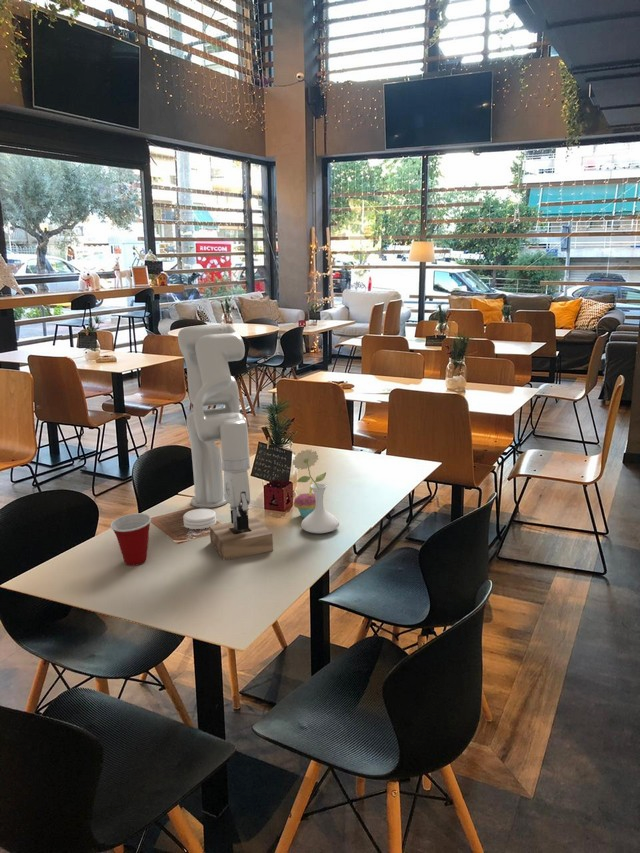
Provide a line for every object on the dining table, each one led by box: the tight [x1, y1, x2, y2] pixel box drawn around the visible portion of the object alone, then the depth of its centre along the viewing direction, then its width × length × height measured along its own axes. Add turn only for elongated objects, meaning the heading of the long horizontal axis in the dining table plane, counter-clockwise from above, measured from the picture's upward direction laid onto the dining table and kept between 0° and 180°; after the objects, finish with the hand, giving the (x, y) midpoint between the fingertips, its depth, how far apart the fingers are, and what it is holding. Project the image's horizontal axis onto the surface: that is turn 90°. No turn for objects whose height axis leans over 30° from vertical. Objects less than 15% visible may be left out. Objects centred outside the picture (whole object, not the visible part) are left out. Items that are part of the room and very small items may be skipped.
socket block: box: [209, 517, 274, 561], centre depth 198 cm, size 14×14×5 cm
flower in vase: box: [292, 448, 340, 534], centre depth 205 cm, size 13×11×25 cm
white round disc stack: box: [182, 508, 217, 531], centre depth 216 cm, size 10×10×4 cm
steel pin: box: [232, 503, 247, 535], centre depth 197 cm, size 4×4×12 cm
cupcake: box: [293, 480, 316, 519], centre depth 218 cm, size 9×8×12 cm
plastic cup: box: [110, 512, 152, 567], centre depth 189 cm, size 11×11×12 cm
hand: (240, 525), depth 197 cm, fingers open, 4 cm apart
